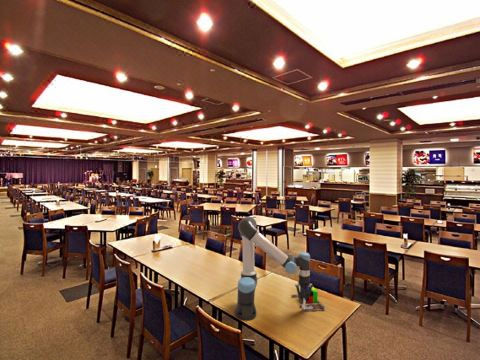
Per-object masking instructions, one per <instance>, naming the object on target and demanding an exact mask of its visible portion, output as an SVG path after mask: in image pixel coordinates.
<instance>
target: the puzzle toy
mask: <svg viewBox="0 0 480 360" xmlns="http://www.w3.org/2000/svg"><path fill="white" fill-rule="evenodd" d="M308 288H309V286H308ZM299 290H300V295H301V287H300V286H299ZM307 292H308V289H307ZM318 297H319V295H318V289H317V290H316V288H315V287H314V286H313V287H312V289H311V293H310V297H309V299H307V303H306V304H315V303H317V299H318Z"/></svg>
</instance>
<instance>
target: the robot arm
mask: <svg viewBox="0 0 480 360" xmlns="http://www.w3.org/2000/svg"><path fill="white" fill-rule="evenodd" d="M257 224H258V223H257V220H256V219H255V218H254V217H252V216H245V217H243V218H242V219H241V220H239V223H238V225H237V228H238V231H239V233H240V237H241V239H242V270H241V271H240V279H238V282H237V300H236V301H237V303H236V305H235V308H234V316H235V318H236V319H238V320H242V321H251V320H253V319H255V318H257V307H256V304H255V293H256V289H257V286H258V277H257V271H256V270H255V245H256V246H258V247H259V249H261V250H262V251H263V252H265V253H266V254H267V255H268V256H269V257H271V258H272V259H273V260H274V261H275V262H277V263H278V264H279V265H280V266H281V267H282V268H284V270H285V271H286V273H287V274H289V275H293V274H295V273H296V272H297V270H298V282H297V284H294V286H295V288H296V292H297V293H296V294H298V297H297V298H299V299H300V304H302V308H303V309H305V304H306V303H307V299H309V297H310V293H311V289H312V287H314V285H313V284H312V283H311V282H310V277H311V276H310V275H311V273H310V272H311V255H310V253H309V252H306V251H305V252H304V251H303V252H299V254H298V255H296V254H295V255H294V254H286V253H285V252H284V251H282V250H281V249H280V248H279V247H277V246H276V245H275V244H274V243H273V242H272V241H270V240H269V239H267V238H266V236H264V234H262V233H260V230H259V229H258V228H257V226H258V225H257ZM308 286H309V288H308ZM300 287H301V295H300ZM307 289H308V292H307Z"/></svg>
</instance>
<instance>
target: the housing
mask: <svg viewBox="0 0 480 360" xmlns="http://www.w3.org/2000/svg"><path fill="white" fill-rule="evenodd" d="M290 296H291V298H299V297H298V293H296V294H291V295H290ZM307 305H310V306H312V307H313V310H304V309H303V308H302V304H301V303H300V304H299V308H300V310H301V311H302V312H303V313H320V312H327V310H326V309H325V305H324V304H323V303H322V302H321V301H320V300H319V299H318V298H317V303H315V304H305V306H307Z"/></svg>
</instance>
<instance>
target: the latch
mask: <svg viewBox="0 0 480 360" xmlns="http://www.w3.org/2000/svg"><path fill="white" fill-rule="evenodd" d="M304 310H313V307H312V306H310V305H307V306H305V309H304Z"/></svg>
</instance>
